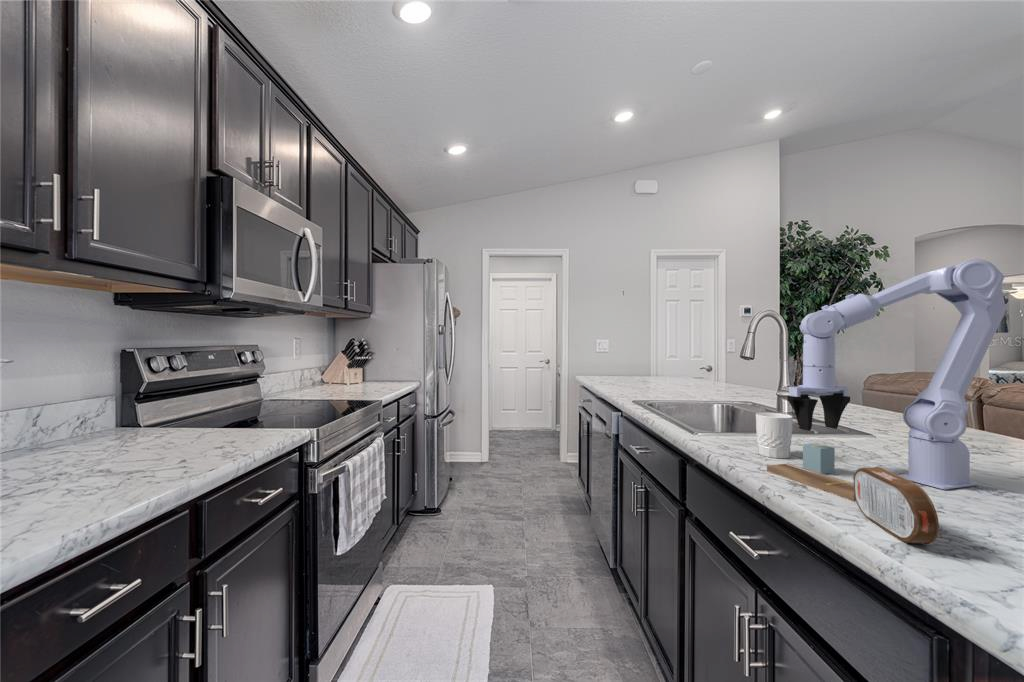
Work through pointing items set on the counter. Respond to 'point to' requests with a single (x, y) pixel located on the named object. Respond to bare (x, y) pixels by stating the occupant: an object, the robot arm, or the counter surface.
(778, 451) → the white cup
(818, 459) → the block
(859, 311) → the robot arm
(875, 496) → the tin
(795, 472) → the walnut board
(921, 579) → the counter surface
